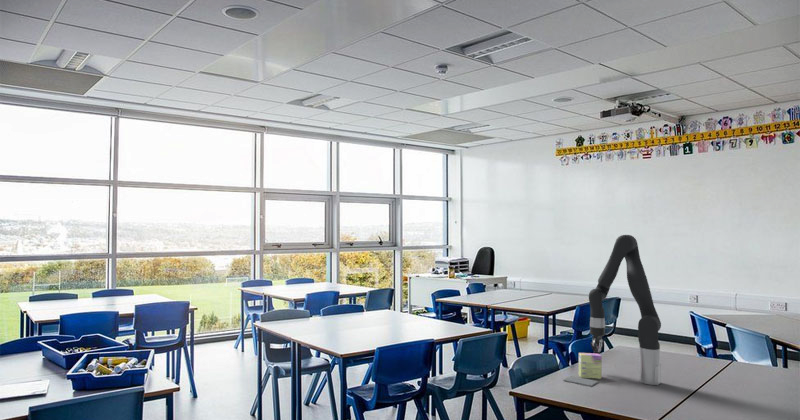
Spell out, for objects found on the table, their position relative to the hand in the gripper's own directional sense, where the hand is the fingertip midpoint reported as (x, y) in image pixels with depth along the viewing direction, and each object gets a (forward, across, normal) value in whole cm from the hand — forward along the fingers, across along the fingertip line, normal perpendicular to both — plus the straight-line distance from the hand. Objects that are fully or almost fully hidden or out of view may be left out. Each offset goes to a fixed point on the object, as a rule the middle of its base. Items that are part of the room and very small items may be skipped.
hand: (597, 358), depth 284 cm
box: (+8, -11, 0) cm, 13 cm away
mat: (+8, -23, 0) cm, 24 cm away
